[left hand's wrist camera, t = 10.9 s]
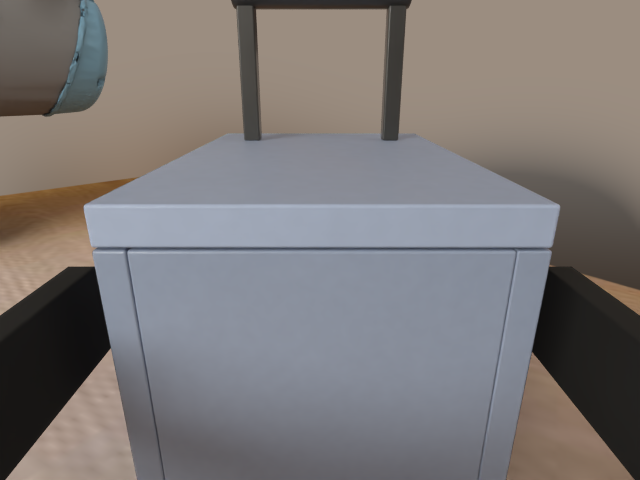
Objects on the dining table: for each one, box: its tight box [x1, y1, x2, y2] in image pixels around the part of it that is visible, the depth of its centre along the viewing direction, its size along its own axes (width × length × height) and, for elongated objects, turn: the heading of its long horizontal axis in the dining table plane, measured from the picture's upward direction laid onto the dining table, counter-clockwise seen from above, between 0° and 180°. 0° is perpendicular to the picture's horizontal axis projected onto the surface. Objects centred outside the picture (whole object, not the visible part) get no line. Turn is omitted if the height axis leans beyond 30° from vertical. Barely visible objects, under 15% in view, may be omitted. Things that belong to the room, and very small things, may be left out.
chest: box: [92, 247, 552, 480], centre depth 17 cm, size 13×10×10 cm
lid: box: [84, 0, 560, 248], centre depth 14 cm, size 14×10×8 cm
